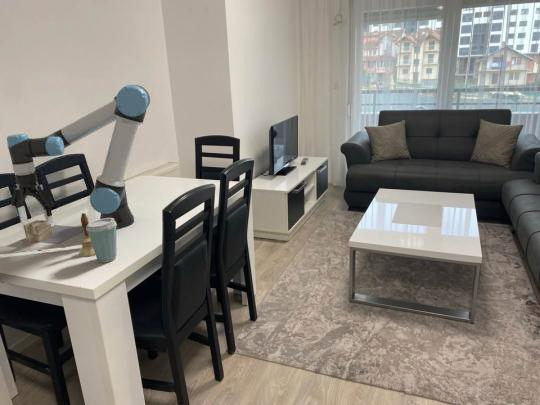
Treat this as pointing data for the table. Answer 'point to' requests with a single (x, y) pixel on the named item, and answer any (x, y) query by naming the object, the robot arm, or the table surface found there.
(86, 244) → the hand bell
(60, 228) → the base board
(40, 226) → the hollow wooden cube frame
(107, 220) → the disposable coffee cup
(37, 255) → the table surface
